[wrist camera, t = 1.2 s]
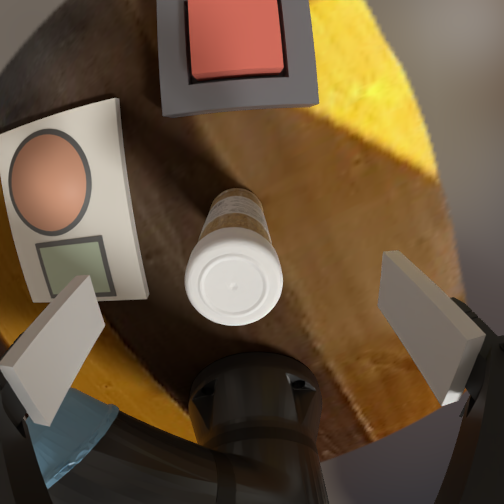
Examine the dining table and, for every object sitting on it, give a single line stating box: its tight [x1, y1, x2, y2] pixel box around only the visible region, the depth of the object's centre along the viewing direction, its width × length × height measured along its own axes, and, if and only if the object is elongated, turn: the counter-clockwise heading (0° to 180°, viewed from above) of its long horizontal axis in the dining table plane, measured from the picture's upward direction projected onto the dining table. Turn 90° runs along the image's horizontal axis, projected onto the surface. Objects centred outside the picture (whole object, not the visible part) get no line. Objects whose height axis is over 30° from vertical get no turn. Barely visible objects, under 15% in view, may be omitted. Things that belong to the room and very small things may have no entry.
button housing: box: [157, 0, 319, 118], centre depth 20 cm, size 11×11×4 cm
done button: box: [188, 0, 284, 81], centre depth 19 cm, size 6×6×3 cm
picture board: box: [0, 98, 149, 303], centre depth 26 cm, size 18×14×1 cm
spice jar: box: [185, 188, 283, 326], centre depth 21 cm, size 5×5×14 cm
